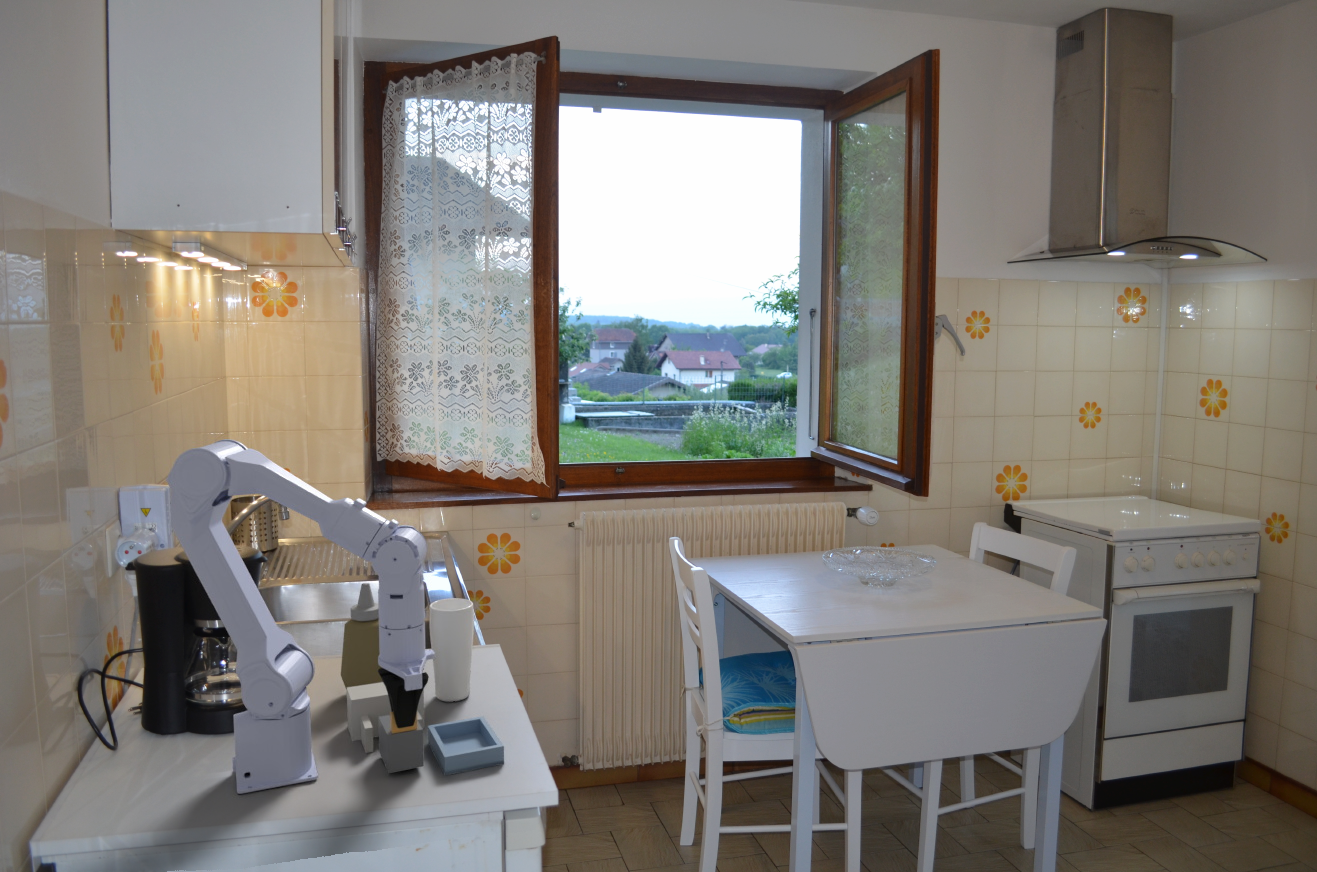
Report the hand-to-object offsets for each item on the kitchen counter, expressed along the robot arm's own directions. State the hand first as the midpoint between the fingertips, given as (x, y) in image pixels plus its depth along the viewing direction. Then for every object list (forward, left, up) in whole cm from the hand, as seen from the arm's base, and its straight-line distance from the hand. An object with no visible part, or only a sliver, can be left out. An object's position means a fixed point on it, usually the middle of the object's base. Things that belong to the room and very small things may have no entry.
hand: (404, 723), depth 121 cm
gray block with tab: (0, +2, -6) cm, 6 cm away
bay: (0, +12, -7) cm, 14 cm away
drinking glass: (+11, +22, -7) cm, 26 cm away
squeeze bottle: (-1, +28, -7) cm, 29 cm away
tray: (+8, +2, -7) cm, 11 cm away
